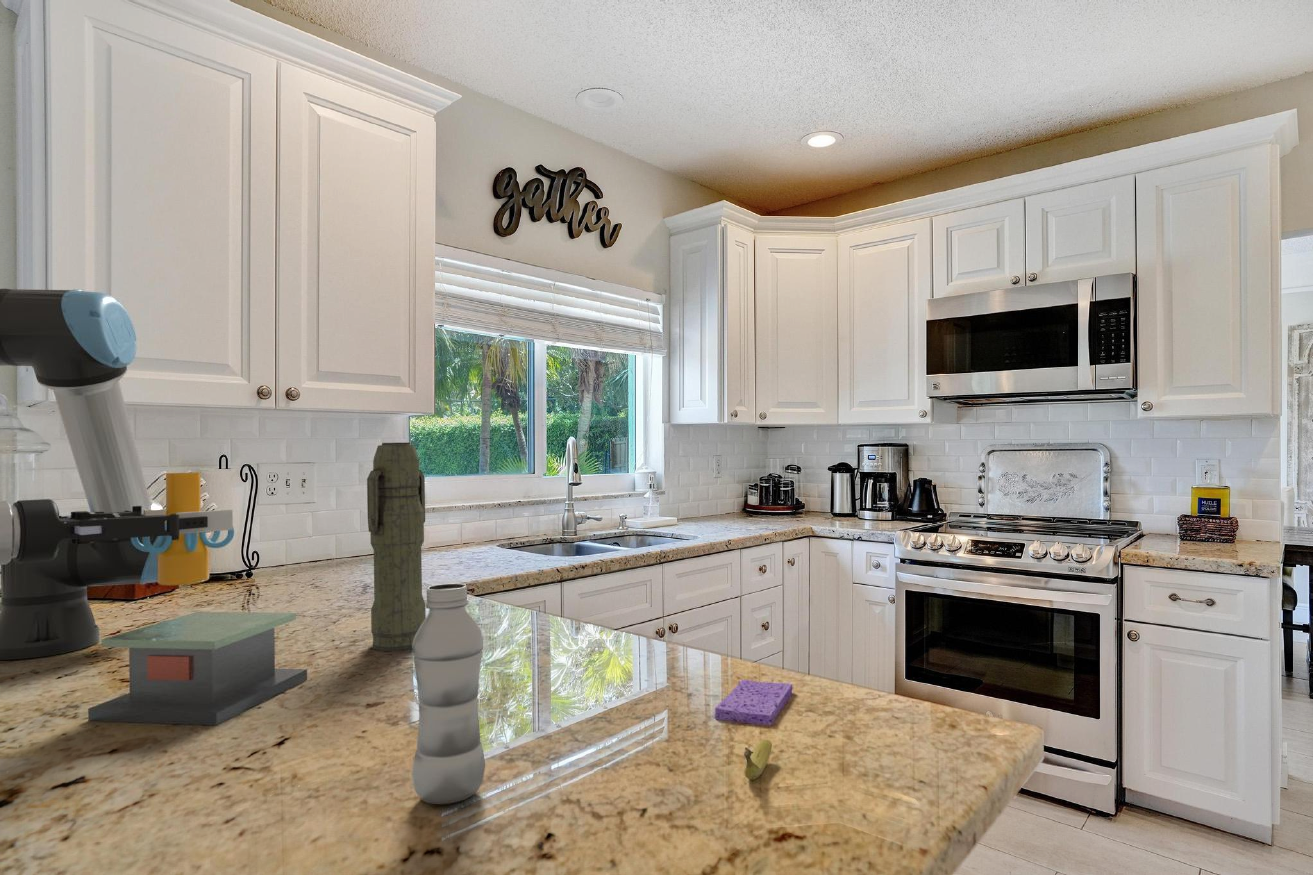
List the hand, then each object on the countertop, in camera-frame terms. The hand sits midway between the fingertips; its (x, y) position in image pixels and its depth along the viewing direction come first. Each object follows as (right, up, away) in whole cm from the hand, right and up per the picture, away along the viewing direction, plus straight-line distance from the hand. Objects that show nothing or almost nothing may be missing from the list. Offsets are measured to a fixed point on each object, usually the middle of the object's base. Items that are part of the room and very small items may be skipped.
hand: (213, 517), depth 103 cm
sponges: (+75, -23, -10) cm, 80 cm away
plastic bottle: (+43, -23, -34) cm, 59 cm away
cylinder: (-2, -9, -3) cm, 9 cm away
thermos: (+18, -25, +23) cm, 39 cm away
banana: (+73, -23, -30) cm, 82 cm away
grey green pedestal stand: (+1, -24, -3) cm, 25 cm away
